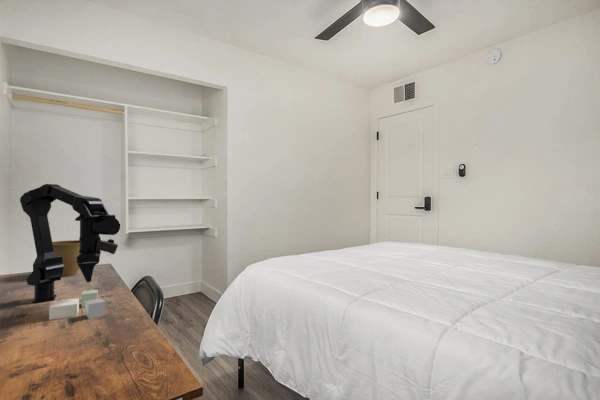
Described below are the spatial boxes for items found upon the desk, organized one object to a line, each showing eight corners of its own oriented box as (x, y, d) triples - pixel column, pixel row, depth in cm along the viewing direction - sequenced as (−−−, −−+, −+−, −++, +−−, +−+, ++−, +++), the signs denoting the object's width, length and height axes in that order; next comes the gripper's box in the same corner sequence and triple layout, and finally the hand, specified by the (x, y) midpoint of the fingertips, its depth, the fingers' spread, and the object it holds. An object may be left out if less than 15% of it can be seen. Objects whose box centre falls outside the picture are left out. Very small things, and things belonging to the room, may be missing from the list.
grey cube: (85, 315, 102) (85, 301, 102) (101, 311, 105) (101, 298, 105) (88, 319, 99) (88, 304, 99) (105, 315, 102) (105, 301, 102)
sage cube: (82, 304, 113) (82, 291, 113) (97, 302, 115) (97, 289, 115) (81, 307, 109) (81, 294, 109) (97, 305, 111) (97, 292, 111)
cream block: (52, 313, 104) (52, 301, 104) (78, 310, 107) (79, 298, 107) (49, 320, 98) (49, 307, 98) (77, 316, 101) (77, 303, 101)
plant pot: (45, 280, 145) (45, 244, 145) (49, 273, 158) (50, 241, 158) (85, 276, 153) (85, 242, 153) (86, 270, 165) (86, 239, 165)
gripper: (116, 235, 108) (116, 282, 108) (116, 230, 124) (115, 271, 124) (76, 237, 102) (76, 286, 102) (81, 231, 118) (80, 274, 119)
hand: (89, 278), depth 112 cm, fingers open, 9 cm apart
